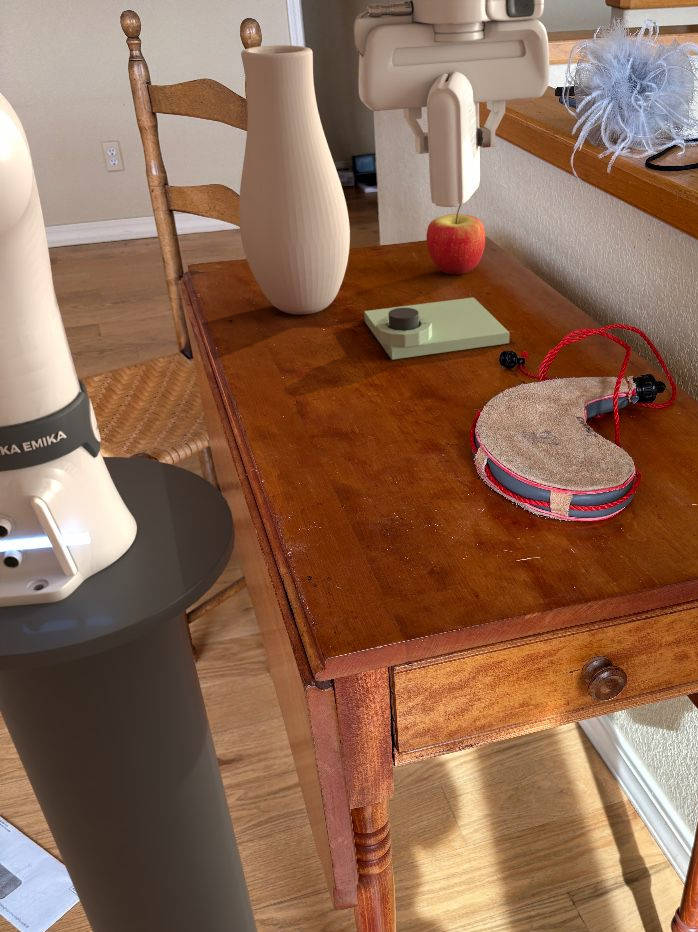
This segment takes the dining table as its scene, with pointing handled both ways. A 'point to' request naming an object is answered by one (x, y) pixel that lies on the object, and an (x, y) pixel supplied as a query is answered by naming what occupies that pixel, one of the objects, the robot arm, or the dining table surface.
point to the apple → (456, 242)
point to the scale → (438, 329)
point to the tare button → (403, 319)
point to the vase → (290, 185)
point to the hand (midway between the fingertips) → (455, 149)
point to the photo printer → (452, 140)
